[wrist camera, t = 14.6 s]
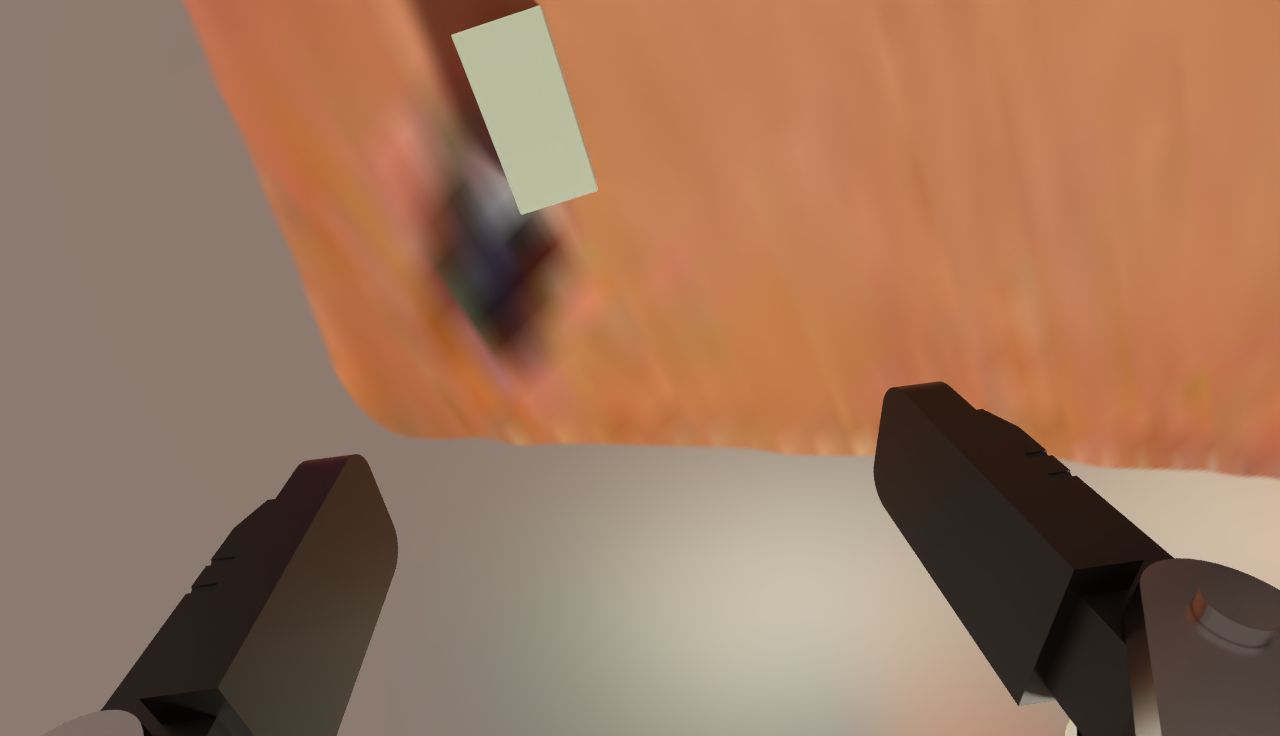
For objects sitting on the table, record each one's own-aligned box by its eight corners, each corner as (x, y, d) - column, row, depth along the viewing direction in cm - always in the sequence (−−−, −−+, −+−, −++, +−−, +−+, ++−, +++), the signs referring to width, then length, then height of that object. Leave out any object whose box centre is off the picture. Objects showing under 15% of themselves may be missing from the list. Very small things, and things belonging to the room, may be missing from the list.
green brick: (598, 190, 31) (595, 174, 36) (539, 5, 27) (545, 12, 31) (521, 214, 32) (527, 195, 36) (451, 34, 27) (468, 37, 32)
